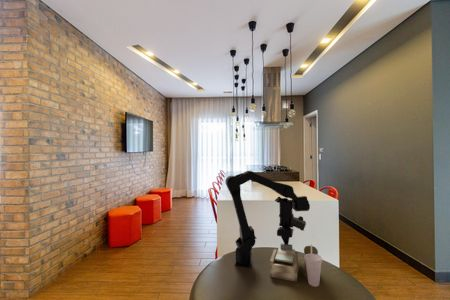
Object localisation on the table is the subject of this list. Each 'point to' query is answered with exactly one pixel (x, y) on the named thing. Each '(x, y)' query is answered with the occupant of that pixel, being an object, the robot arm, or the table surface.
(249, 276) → the table surface
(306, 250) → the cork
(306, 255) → the smoothie
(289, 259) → the lid
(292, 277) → the box
